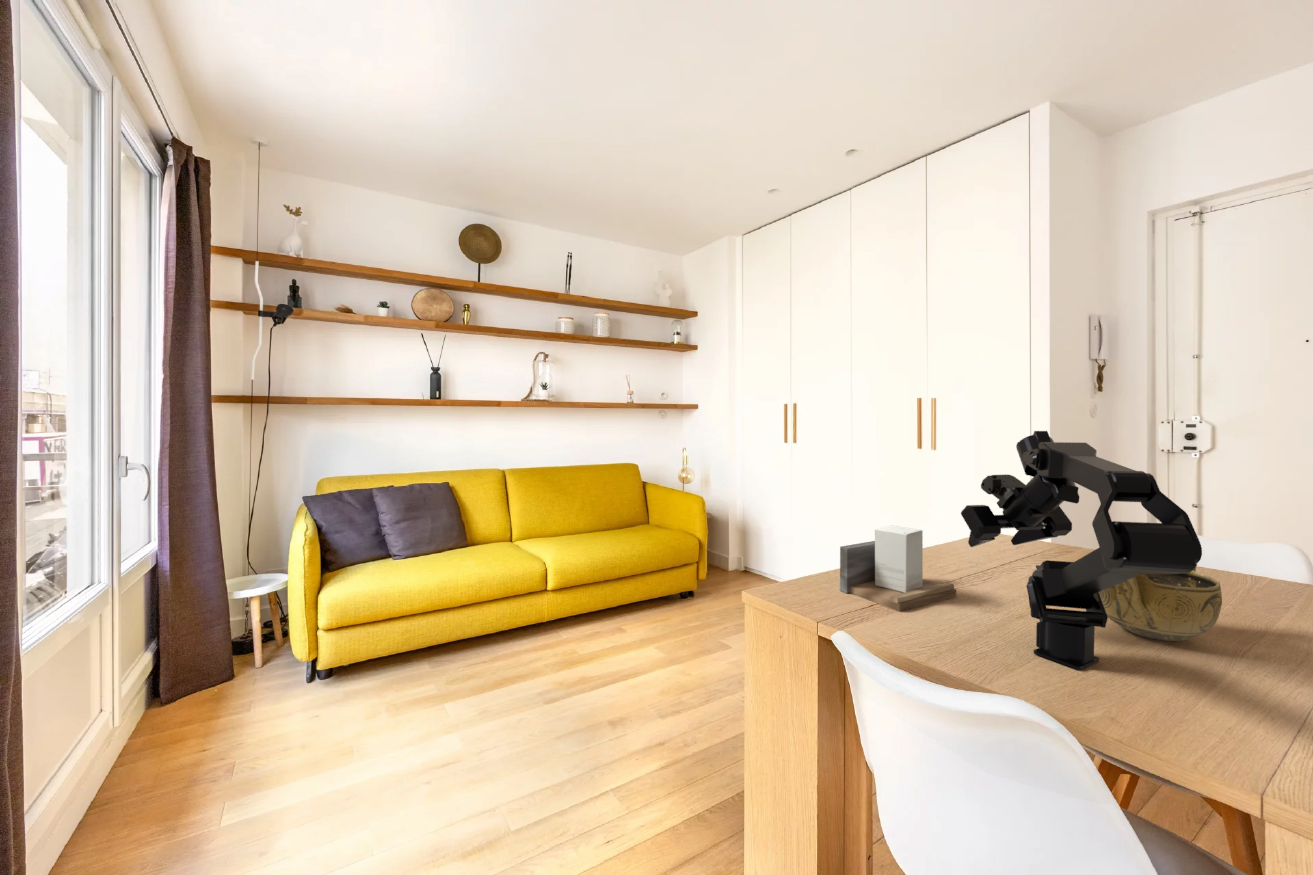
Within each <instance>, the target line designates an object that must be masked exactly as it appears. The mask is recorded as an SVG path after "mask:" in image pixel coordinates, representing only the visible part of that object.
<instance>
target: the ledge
mask: <svg viewBox="0 0 1313 875" xmlns="http://www.w3.org/2000/svg"><path fill="white" fill-rule="evenodd" d="M839 592H841V593H844V594H851V595H854V596H857V595H858V596H857V597H860V598H864V599H865V600H868V601H871V602H873V603H876V604H879V605H880V606H884V607H886V606H887V607H886V608H889V609H892V610H895V611H897V610H898V611H897V612H902V611H901V610H903V611H907V610H910V609H909V608H911V609H914V608H913V607H915V608H917V607H916V606H918V607H922V606H926V605H929V604H933V603H936V602H941V601H944V600H948V598H949V599H952V598H955V596H956V597H957V589H956V588H955V584H954V583H951V582H948V581H947V582H944V583H936V582H931V581H928V580H925V579H923V586H922V587H921V588H918V589H916V590H913V591H910V592H906V593H903V592H900V591H896V590H892V589H888V588H885V587H881V586H876V585H875V540H873V541H865V542H860V543H859V542H858V543H853V544H847V545H842V546H840V548H839ZM925 604H926V605H925ZM921 605H922V606H921ZM906 609H907V610H906Z"/></svg>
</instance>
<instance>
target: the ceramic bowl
mask: <svg viewBox="0 0 1313 875" xmlns="http://www.w3.org/2000/svg"><path fill="white" fill-rule="evenodd" d="M1196 569H1197V566H1196V567H1195V569H1194V570H1193V571H1191V572H1190V573H1183V574H1141V575H1138V576H1136V577H1134V578H1131V579H1129V580H1126V581H1124V582H1122V583H1119V584H1117V585H1114V586H1112V587H1109V588H1107V589H1105V590H1102V591H1100V592H1099V595H1100V598H1101V600H1102V603H1103V606H1104V608H1105V611H1106V614H1107V617H1108V619H1109V620H1110V621H1112V622H1113V623H1115V624H1117V625H1118V626H1120V627H1121V628H1124V629H1125V630H1127V631H1129V632H1132V633H1133V634H1134V635H1135V634H1136V635H1139V636H1141V637H1145V638H1149V639H1152V640H1157V641H1164V642H1165V641H1166V642H1168V641H1169V642H1178V641H1184V640H1185V641H1187V640H1190V639H1194V638H1197V637H1200V636H1202V635H1204V634H1205V633H1207V632H1208V631H1209V630H1211V629H1212V628H1213V626H1214V625H1215V624H1216V623H1217V621H1218V619H1219V617H1220V613H1221V609H1222V605H1223V596H1222V588H1221V583H1220V582H1219V581H1218V579H1216V578H1213V577H1211V576H1209V575H1206V574H1202V573H1198V572H1196Z"/></svg>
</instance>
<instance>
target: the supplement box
mask: <svg viewBox="0 0 1313 875" xmlns="http://www.w3.org/2000/svg"><path fill="white" fill-rule="evenodd" d="M923 537H924V536H923V530H922V529H917V528H911V527H905V526H899V525H893V524H892V525H888V526H883V527H880V528H876V529H874V541H875V585H876V586H881V587H885V588H888V589H892V590H896V591H900V592H903V593H906V592H910V591H913V590H916V589H918V588H921V587H922V586H923V580H924V579H923V572H924V571H923V566H924V565H923V563H924V562H923V560H924V559H923V539H924V538H923Z"/></svg>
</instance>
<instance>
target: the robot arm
mask: <svg viewBox="0 0 1313 875" xmlns="http://www.w3.org/2000/svg"><path fill="white" fill-rule="evenodd" d="M1015 448H1016V451H1017V453H1018V456H1019V459H1020V463H1021V466H1022V468H1023V471H1024V474H1025V475H1026V476H1029V477H1032V478H1031V479H1030V480H1029V481H1028V482H1027V483H1026V484H1025V483H1024V482H1022V481H1021V480H1019V478H1017V477H1016V476H1013V475H1012V474H992V475H987V476H986V477H985V478H983V479H982V481H981V482H980V489H981V490H982V491H983V492H985V493H986V494H987V495H992V496H994V497H995V498H996V499H997V502H996V505H997V506H998V507H999V509H1002V514H994V512H993V511H992V510H991V508H990V506H989V505H986V504H971V505H969V504H967V505H966V506H964V508H963V509H962V510H961V512H960V515H961V517H962V519H963V520H964V522H965V523H966V526H967V527H968V529H969V531H970V532H969V537H968V541H967V542H968V543H967V544H968V545H969V547H970V548H975V547H977V546H980V545H983V544H986V543H989V542H992V541H994V540H996V537H998V536H1000V534H1002V529H1015V531H1016V533H1015V534H1014V535H1013V537H1012V538H1011V540H1010V542H1011V544H1012V545H1013V546H1018V545H1022V544H1027V543H1033V542H1036V541H1042V540H1048V539H1052V538H1057V537H1060V536H1062V537H1064V536H1067V535H1068V534H1069V533H1071V531H1073V523H1072V521H1071V519H1070V518H1069V517H1068V516H1067V515H1066V512H1064V511H1063V509H1062V507H1061V506H1060V505H1062V504H1063V503H1064V502H1068V503H1072V504H1079V502H1080V495H1079V487H1078V486H1077V485H1079V486H1081V487H1083V488H1085V489H1087V490H1089V491H1091V492H1093V493H1095V494H1097V497H1098V500H1099V502H1100V505H1099V506H1098V507H1099V508H1098V509H1097V511H1096V513H1095V516H1094V518H1093V520H1092V523H1091V526H1092V527H1093V532H1094V534H1095V537H1096V541H1097V543H1098V548H1096V549H1094V550H1093V551H1091V552H1089V553H1087V554H1085V555H1084V556H1081V558H1079V559H1076V560H1075V561H1062V560H1048V559H1047V560H1045V561H1042V562H1041V564H1040V565H1037V564H1036V565H1035V570H1033V572H1032V574H1031V575H1030V576H1029V577H1028V581H1027V583H1026V591H1027V596H1028V602H1029V609H1030V617H1031V618H1034V619H1036V620H1039V621H1038V622H1036V626H1035V627H1036V628H1035V629H1036V633H1035V639H1036V641H1035V646H1036V647H1037V648H1035V649H1033V654H1034V655H1037V656H1039V657H1041V658H1042V657H1043V658H1045V659H1048V660H1051V661H1053V662H1056V663H1058V664H1062V665H1065V666H1067V667H1070V668H1073V669H1075V670H1082V669H1084V668H1087V667H1089V666H1092V665H1093V664H1096V663H1098V662H1100V657H1099V656H1095V631H1096V630H1095V627H1100V628H1104V629H1105V628H1107V627H1106V626H1107V622H1108V620H1109V618H1108V617H1107V614H1106V611H1105V608H1104V606H1103V603H1102V600H1101V598H1100V595H1099V592H1100V591H1102V590H1105V589H1107V588H1109V587H1112V586H1114V585H1117V584H1119V583H1122V582H1124V581H1126V580H1129V579H1131V578H1134V577H1136V576H1138V575H1141V574H1183V573H1190V572H1191V571H1193V570H1194V569H1195V567H1196V568H1197V566H1198V563H1199V562H1200V560H1202V556H1203V550H1202V549H1203V548H1202V545H1201V542H1200V539H1199V537H1198V534H1197V532H1196V531H1195V528H1194V526H1193V523H1192V520H1191V518H1190V516H1189V514H1188V513H1187V512H1186V511H1185V510H1184V509H1182V507H1180V506H1179V505H1177V503H1175V502H1174V501H1172V499H1170V498H1169V497H1168V496H1167V495H1165V494H1164V493H1163V492H1162V491H1161V490H1160V488H1159V485H1158V483H1157V480H1156V479H1155V476H1154V475H1153V474H1152V473H1147V472H1145V471H1143V470H1135V469H1133V468H1129V467H1128V466H1127V467H1126V466H1124V465H1121V464H1118V463H1115V462H1113V461H1110V460H1108V459H1104V458H1101V457H1098V456H1097V450H1096V448H1094V447H1093V446H1092V445H1090V444H1089V443H1087V442H1073V441H1072V442H1071V441H1070V442H1063V441H1062V442H1056V441H1055V440H1054V439H1053V438H1052V437H1050V434H1049V432H1048V430H1034V431H1033V433H1032V435H1028V436H1026V437H1023V438H1022V439H1020V440H1019V441H1018V442H1017V443H1016V446H1015ZM1076 484H1077V485H1076ZM1114 502H1124V503H1140V504H1141V506H1142V507H1143V508H1144V509H1145V511H1147V512H1148V513H1150V515H1152V516H1153V517H1154V518H1155V519H1157V520H1158V521H1159V522H1144V521H1143V522H1142V521H1141V522H1138V521H1121V520H1120V521H1116V520H1115V521H1114V520H1113V521H1112V518H1111V515H1110V512H1109V511H1110V508H1111V507H1112V504H1113V503H1114ZM1050 607H1057V608H1050ZM1061 608H1069V609H1061ZM1073 609H1080V610H1073Z"/></svg>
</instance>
